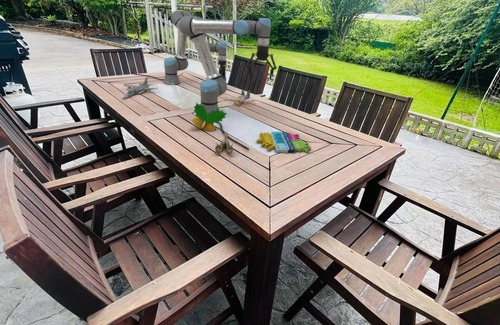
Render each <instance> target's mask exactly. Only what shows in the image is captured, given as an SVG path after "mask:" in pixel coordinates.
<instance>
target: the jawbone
mask: <svg viewBox="0 0 500 325" xmlns="http://www.w3.org/2000/svg"><path fill="white" fill-rule="evenodd" d="M223 135H224V136H223V140H222V139H221V142H220V144H218V142H215V144H216V146H215V148H214V149H215V152H214V154H215V155H217V156H218V155H220V153H221V152H223V151H224V150H226V152H227V153H228V155H229V156H233V155H234V154H233V153H234V148H233V144H234V143H230V140H228V139H229V138H228V136H229V133H228V131H226V132H225V131H224V134H223Z"/></svg>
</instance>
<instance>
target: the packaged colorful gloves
mask: <svg viewBox="0 0 500 325" xmlns="http://www.w3.org/2000/svg"><path fill="white" fill-rule="evenodd" d="M299 136H300V135H299V134H298V133H296V134H294V133H291V132H287V131H270V132H264V133H263V132H260V133H259V139H258V138H257V139H256V143H257V144H261V148H263V147H264V148H265V149H267V151H268V152H271V151H272V150H273V149H275V152H276V153H283V154H285V153H287V154H288V153H290V154H293V153H296V152H298V153H301V152H305V153H310V151H311V150H312V149H311V148H312V146H309V142H304V141H303V139H302V138H299Z"/></svg>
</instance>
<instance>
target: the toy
mask: <svg viewBox="0 0 500 325" xmlns="http://www.w3.org/2000/svg"><path fill="white" fill-rule="evenodd" d="M240 92H241V93H240V95H238V96H237V97H235V99H233V98H230V99H228V98H227V97H226V96H225V97H224V98H223V101H224V102H233V103H232V104H233V105H235V106H242V103H243V104H247V105H252V106H255V105H256V104H257V103H256V102H254V101H253V100H252V101H251V102H250V101H248V100H246V99H248V98H250V97H251V90H250V89H249V90H248V91H247V92H246V93H245V91H244V89H242V90H241V91H240Z"/></svg>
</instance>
